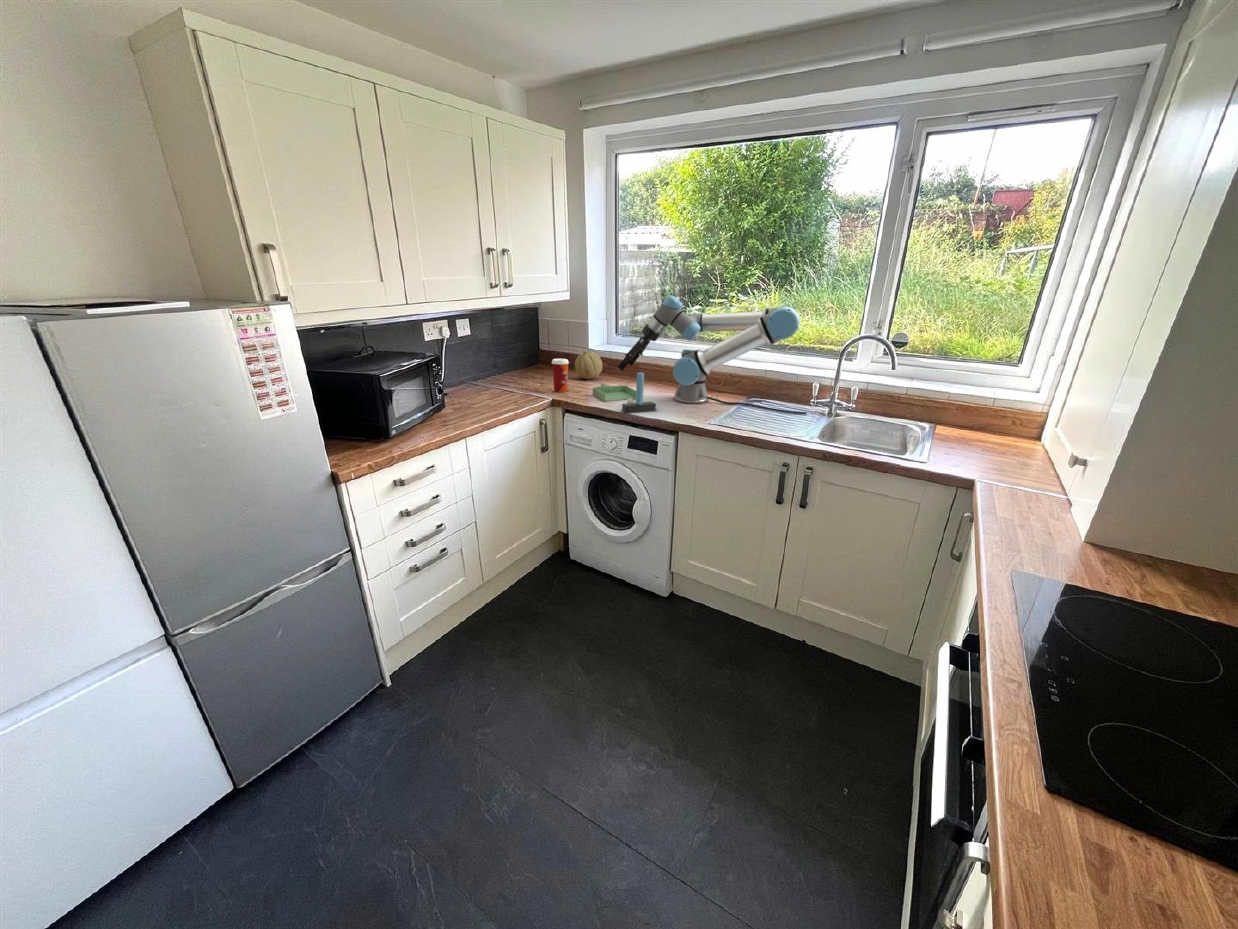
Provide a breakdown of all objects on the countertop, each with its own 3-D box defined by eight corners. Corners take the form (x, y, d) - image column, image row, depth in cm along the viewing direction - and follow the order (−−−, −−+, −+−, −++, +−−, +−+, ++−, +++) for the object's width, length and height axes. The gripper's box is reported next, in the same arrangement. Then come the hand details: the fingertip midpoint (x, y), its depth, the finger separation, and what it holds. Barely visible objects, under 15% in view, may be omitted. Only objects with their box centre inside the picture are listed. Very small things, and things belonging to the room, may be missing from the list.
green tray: (638, 398, 231) (638, 391, 230) (603, 401, 225) (603, 394, 224) (617, 387, 252) (618, 381, 251) (585, 389, 246) (585, 382, 245)
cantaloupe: (607, 378, 272) (608, 350, 266) (592, 383, 260) (592, 354, 254) (584, 375, 279) (585, 347, 273) (569, 379, 267) (569, 350, 261)
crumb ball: (634, 405, 221) (635, 397, 220) (632, 406, 218) (632, 399, 217) (627, 404, 222) (628, 397, 220) (625, 405, 219) (625, 398, 218)
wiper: (655, 410, 213) (657, 373, 207) (625, 413, 208) (627, 374, 202) (651, 408, 216) (653, 371, 211) (621, 410, 211) (623, 373, 205)
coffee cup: (568, 393, 238) (567, 361, 232) (550, 392, 238) (550, 360, 232) (570, 389, 245) (569, 358, 240) (553, 388, 245) (552, 357, 240)
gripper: (654, 320, 225) (626, 357, 235) (639, 325, 203) (609, 365, 213) (666, 331, 225) (638, 367, 235) (653, 337, 203) (622, 376, 213)
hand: (624, 366), depth 224 cm, fingers open, 13 cm apart
